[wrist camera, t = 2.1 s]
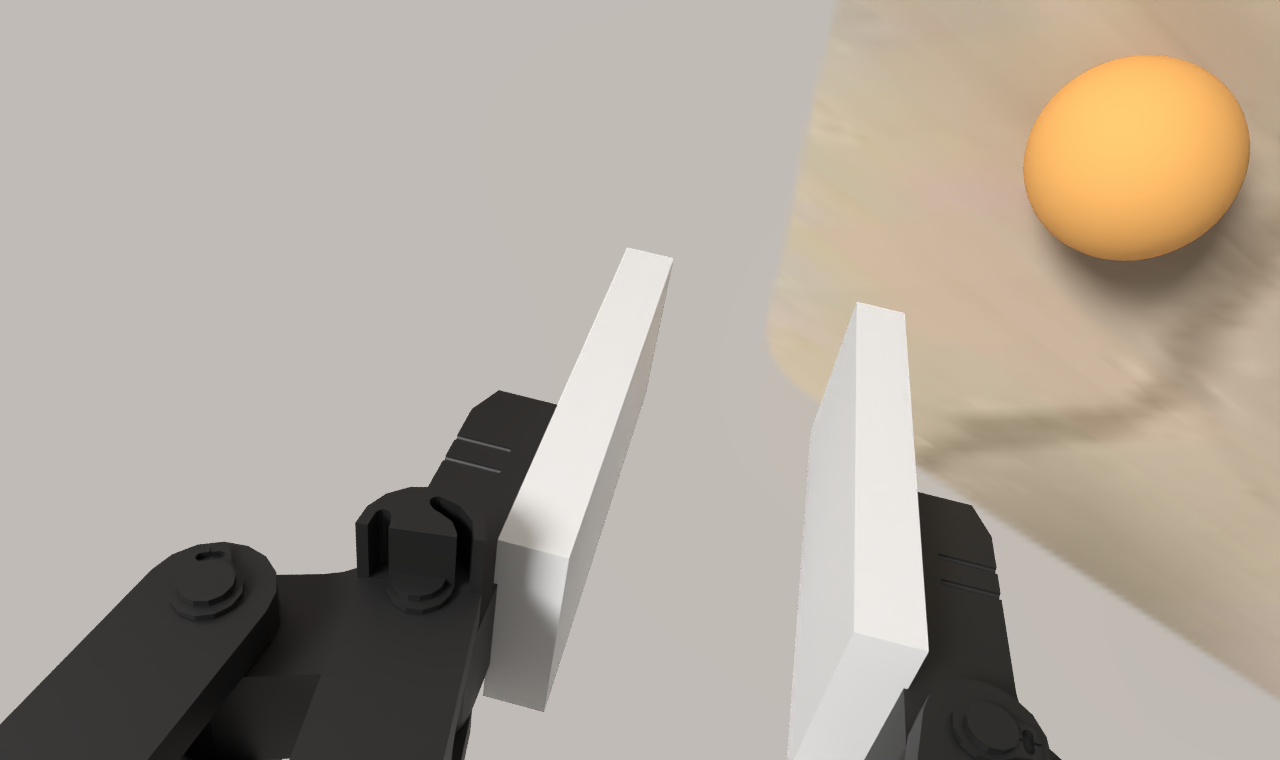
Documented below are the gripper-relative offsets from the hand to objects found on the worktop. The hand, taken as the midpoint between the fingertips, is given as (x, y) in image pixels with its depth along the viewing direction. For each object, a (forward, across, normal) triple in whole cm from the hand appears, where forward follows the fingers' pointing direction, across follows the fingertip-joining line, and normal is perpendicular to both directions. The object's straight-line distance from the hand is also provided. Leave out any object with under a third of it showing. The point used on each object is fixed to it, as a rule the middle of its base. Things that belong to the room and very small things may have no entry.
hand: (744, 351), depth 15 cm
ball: (+14, -10, 0) cm, 17 cm away
